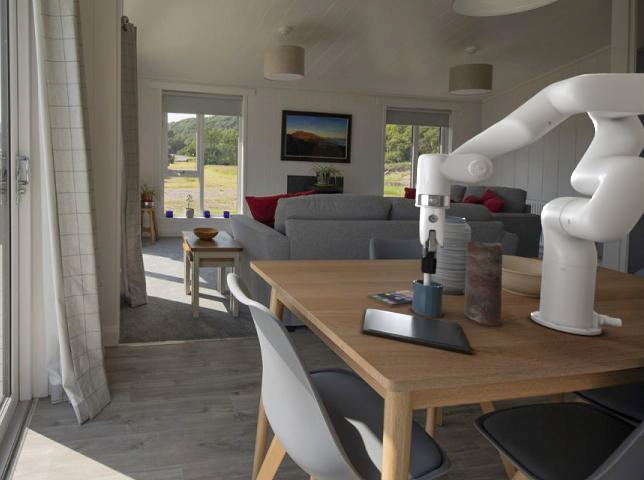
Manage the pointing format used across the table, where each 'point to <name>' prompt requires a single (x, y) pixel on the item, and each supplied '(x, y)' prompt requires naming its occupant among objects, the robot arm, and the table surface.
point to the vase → (453, 256)
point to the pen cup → (427, 298)
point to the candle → (483, 282)
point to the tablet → (415, 330)
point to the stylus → (427, 279)
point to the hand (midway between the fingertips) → (428, 271)
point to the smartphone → (395, 297)
